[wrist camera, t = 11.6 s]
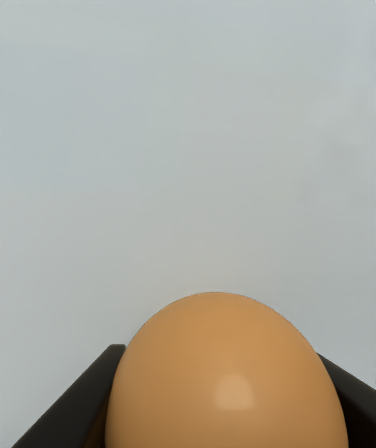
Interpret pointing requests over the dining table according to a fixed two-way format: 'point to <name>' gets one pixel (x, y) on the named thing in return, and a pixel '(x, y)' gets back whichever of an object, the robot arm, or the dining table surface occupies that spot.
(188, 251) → the dining table surface
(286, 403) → the brown egg
